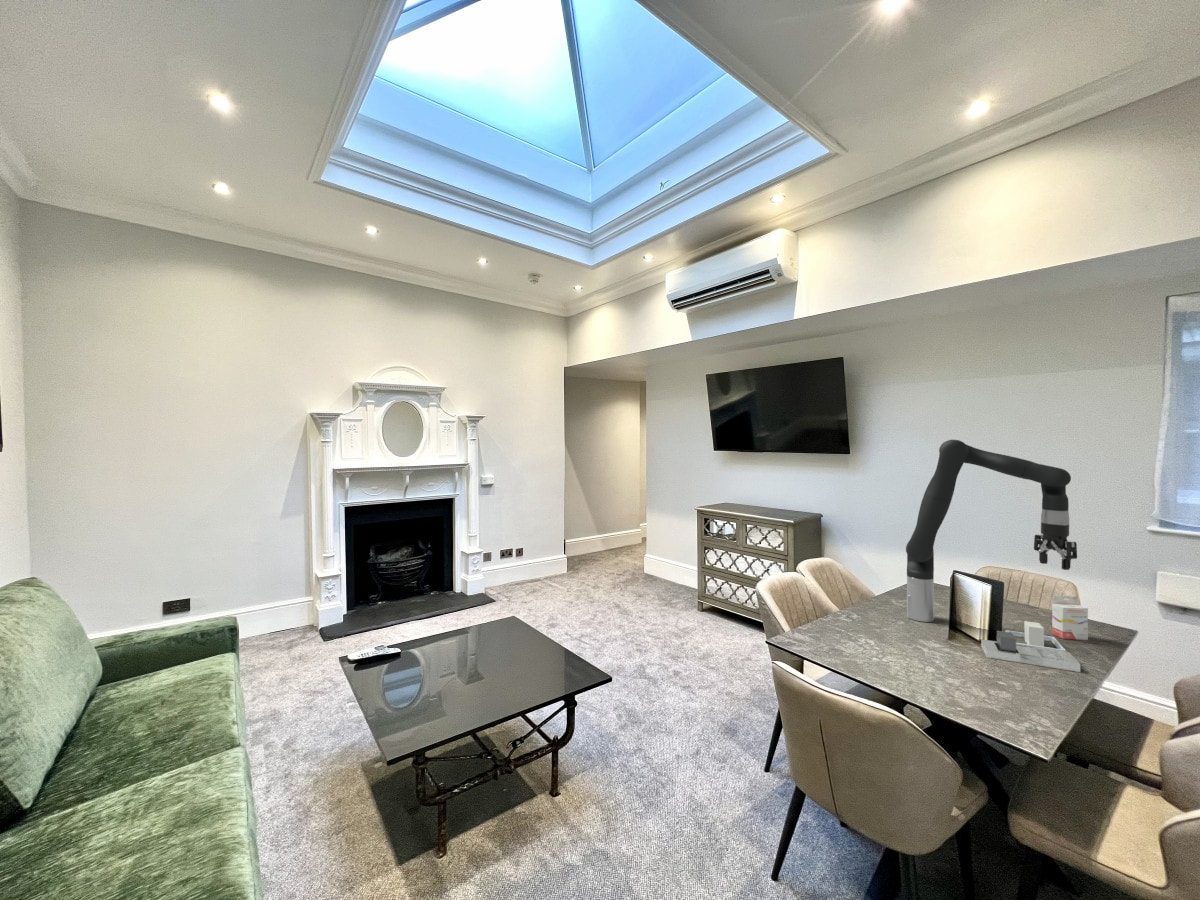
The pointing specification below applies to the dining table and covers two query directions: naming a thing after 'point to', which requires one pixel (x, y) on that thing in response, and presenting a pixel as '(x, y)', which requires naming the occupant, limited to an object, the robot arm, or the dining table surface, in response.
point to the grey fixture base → (1027, 653)
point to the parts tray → (1047, 638)
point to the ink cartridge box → (1069, 618)
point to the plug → (1034, 633)
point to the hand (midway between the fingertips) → (1054, 566)
